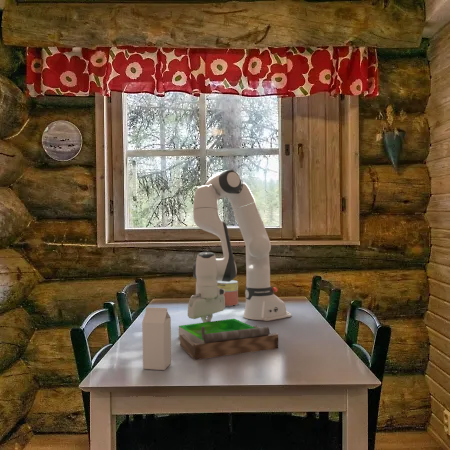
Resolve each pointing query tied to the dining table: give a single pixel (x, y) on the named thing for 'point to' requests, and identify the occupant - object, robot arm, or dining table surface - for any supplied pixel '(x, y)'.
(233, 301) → the canned food
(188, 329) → the tray
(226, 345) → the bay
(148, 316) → the milk carton
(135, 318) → the dining table surface
